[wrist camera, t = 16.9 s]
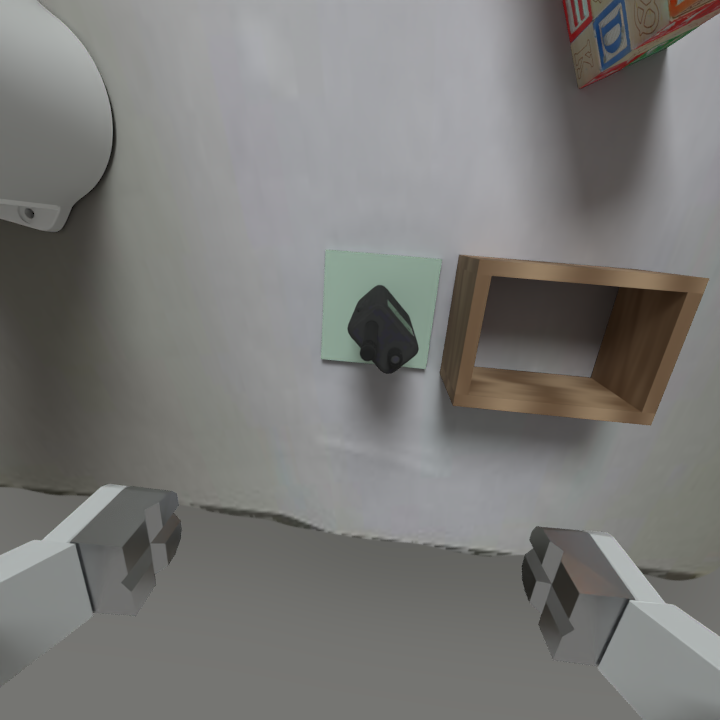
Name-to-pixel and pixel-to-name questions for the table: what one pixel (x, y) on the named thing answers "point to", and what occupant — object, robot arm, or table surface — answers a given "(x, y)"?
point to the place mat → (357, 277)
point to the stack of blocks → (627, 31)
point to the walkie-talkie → (383, 330)
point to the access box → (616, 355)
